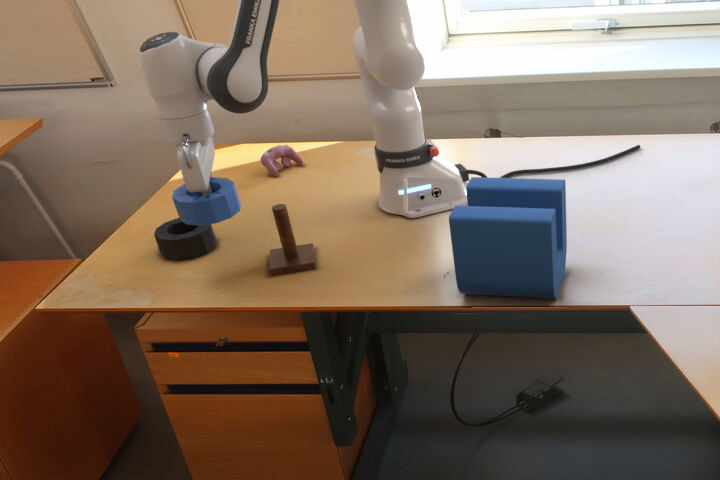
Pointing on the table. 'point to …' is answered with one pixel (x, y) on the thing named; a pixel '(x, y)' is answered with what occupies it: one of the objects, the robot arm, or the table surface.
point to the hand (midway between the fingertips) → (210, 195)
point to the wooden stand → (289, 247)
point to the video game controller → (279, 152)
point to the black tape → (184, 240)
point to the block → (510, 237)
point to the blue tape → (207, 203)
